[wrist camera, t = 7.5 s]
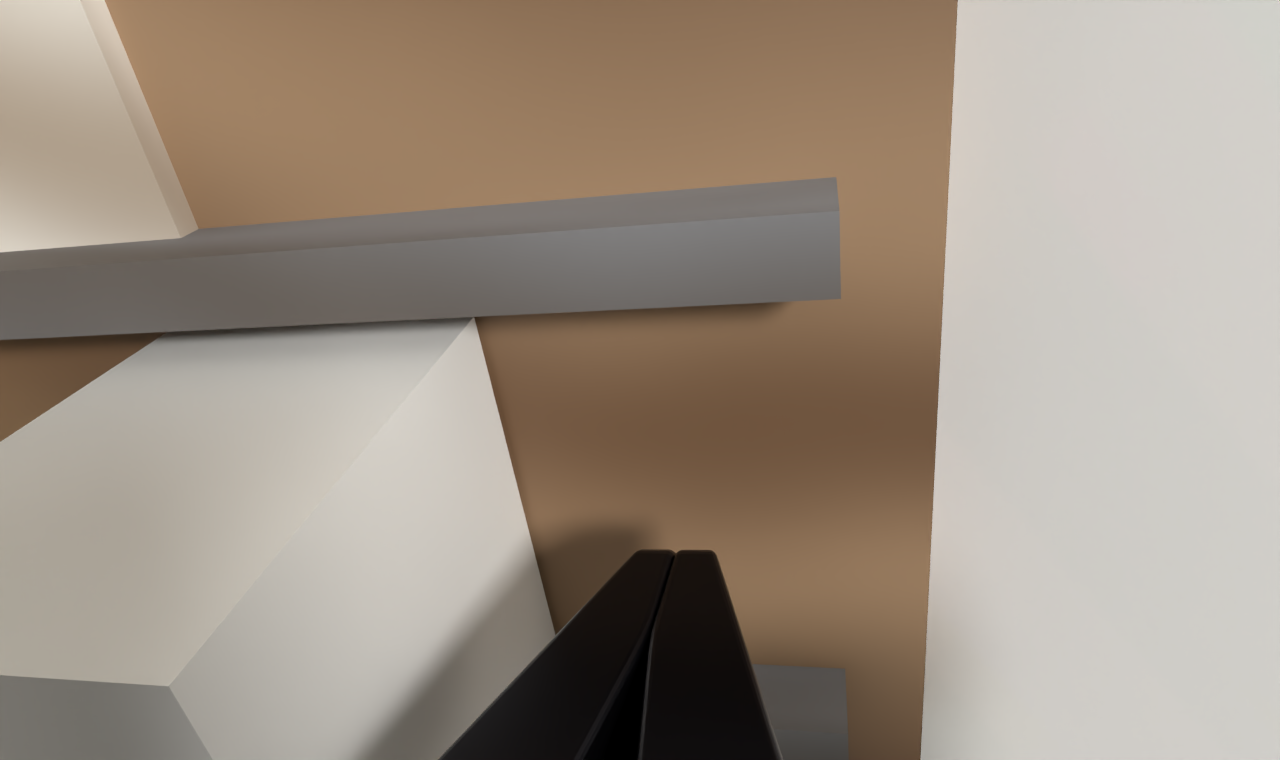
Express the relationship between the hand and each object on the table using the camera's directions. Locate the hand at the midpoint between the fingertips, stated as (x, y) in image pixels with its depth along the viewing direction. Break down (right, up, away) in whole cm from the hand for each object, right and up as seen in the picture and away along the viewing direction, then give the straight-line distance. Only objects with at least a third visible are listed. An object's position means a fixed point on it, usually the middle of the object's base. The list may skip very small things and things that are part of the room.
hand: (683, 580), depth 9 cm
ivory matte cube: (-5, +1, +2) cm, 5 cm away
